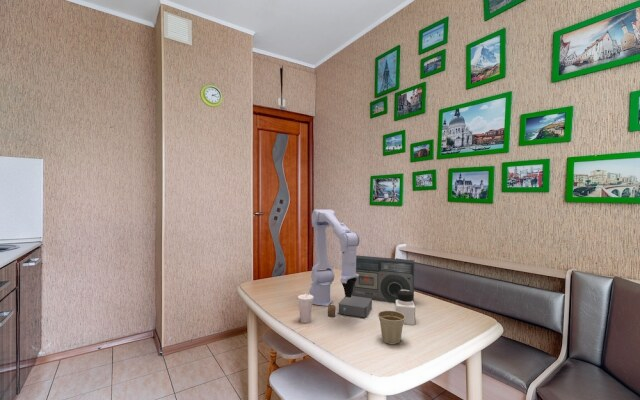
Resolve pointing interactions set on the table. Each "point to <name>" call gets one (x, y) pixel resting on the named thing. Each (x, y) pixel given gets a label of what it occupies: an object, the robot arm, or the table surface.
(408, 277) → the cassette player
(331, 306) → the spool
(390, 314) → the flower pot
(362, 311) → the tray
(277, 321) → the table surface
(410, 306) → the medicine bottle
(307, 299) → the smoothie
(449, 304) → the table surface
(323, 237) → the robot arm
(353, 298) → the disc
